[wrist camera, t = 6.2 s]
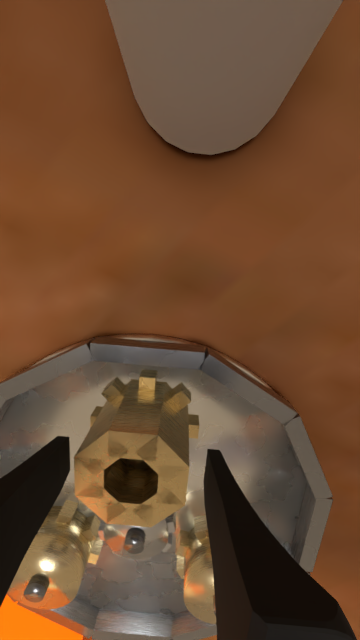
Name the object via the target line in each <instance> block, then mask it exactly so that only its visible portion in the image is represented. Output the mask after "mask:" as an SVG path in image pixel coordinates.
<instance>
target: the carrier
mask: <svg viewBox="0 0 360 640" xmlns="http://www.w3.org/2000/svg"><path fill="white" fill-rule="evenodd" d="M142 369H144V370H156V371H157V381H159V382H167V383H168V384H169V386H170V387H171V388H172V389H173V388H174V387H176V386H177V385H178V384H180V383H181V382H182V383H183V384H184V385H185V387H186V388H187V389H188V390H189V391H190V392H191V402H190V403H189V404H188V414H193V415H199V433H198V439H196V438H189V475H188V484H187V493H186V502H185V506H183V507H182V508H180V509H179V510H177V511H176V512H174V513H173V514H171V515H170V516H168V517H166V518H165V519H163V520H162V521H160V522H159V523H157V524H156V525H154V526H153V527H140V526H129V525H118V524H107V523H105V522H104V521H103V520H102V519H101V518H100V517H99V516H98V515H96V514H95V513H94V512H93V511H92V510H91V509H90V508H88V507H87V506H86V505H85V504H84V503H83V502H82V501H80V500H79V499H78V498H77V497H76V496H75V479H74V456H75V454H76V453H77V451H78V449H79V447H80V446H81V444H82V442H83V441H84V439H85V437H86V435H87V434H88V432H89V430H90V416H91V414H92V413H93V411H94V409H95V408H96V406H101V407H103V406H104V404H105V403H106V401H107V399H106V398H105V397H104V396H103V395H102V394H101V393H102V392H103V390H104V388H105V387H106V385H107V384H109V383H110V382H111V381H112V380H114V379H115V378H116V377H118V378H119V379H120V380H121V381H122V382H123V383H124V384H127V383H128V382H129V381H130V380H132V379H136V380H139V376H140V374H141V371H142ZM57 436H65V437H69V440H70V472H69V474H68V476H67V479H66V481H65V483H64V486H63V488H62V490H61V492H60V494H59V496H58V497H57V499H56V501H55V503H54V505H53V506H52V508H51V510H50V512H49V513H48V515H47V517H46V519H45V520H44V522H43V524H42V526H41V527H40V529H39V531H38V533H37V534H36V536H35V538H34V540H33V541H32V543H31V545H30V547H29V549H28V551H27V552H26V554H25V556H24V558H23V560H22V562H21V565H20V567H19V569H18V571H17V573H16V575H15V577H14V579H13V581H12V583H11V586H10V588H9V590H8V592H7V595H8V596H9V597H10V599H11V600H12V601H13V602H17V601H18V602H17V605H19V606H21V607H23V608H25V609H27V610H29V611H32V612H34V613H36V614H38V615H40V616H42V617H44V618H46V619H49V620H51V621H53V622H55V623H57V624H59V625H61V626H63V627H65V628H68V629H70V630H72V631H74V632H76V633H78V634H80V635H82V636H84V637H87V638H90V637H91V636H92V639H94V640H199V639H203V638H206V637H210V636H214V635H217V626H216V608H215V592H214V576H213V565H212V557H211V549H210V542H209V535H208V527H207V520H206V512H205V505H204V482H203V481H204V473H205V465H206V457H207V449H216V450H220V451H221V453H222V455H223V457H224V459H225V461H226V463H227V465H228V467H229V469H230V471H231V473H232V475H233V477H234V478H235V480H236V482H237V484H238V485H239V487H240V489H241V490H242V492H243V494H244V495H245V497H246V498H247V500H248V501H249V503H250V504H251V506H252V507H253V509H254V510H255V512H256V513H257V515H258V516H259V517H260V519H261V520H262V521H263V523H264V524H265V525H266V527H267V528H268V529H269V530H270V532H271V533H272V534H273V535H274V537H275V538H276V539H277V540H278V541H279V543H280V544H281V545H282V546H283V547H284V548H285V549H286V551H287V552H288V553H289V554H290V555H291V556H292V557H293V559H294V560H295V561H296V562H297V563H298V564H299V565H300V566H301V567H302V568H303V569H304V570H305V571H306V572H307V573H308V574H309V575H311V574H310V572H312V571H313V568H314V564H315V561H316V557H317V554H318V550H319V547H320V543H321V540H322V536H323V533H324V529H325V526H326V522H327V519H328V515H329V512H330V508H331V505H332V501H333V499H332V497H333V496H332V493H331V491H330V488H329V486H328V484H327V481H326V479H325V476H324V474H323V471H322V469H321V467H320V464H319V462H318V459H317V457H316V454H315V452H314V449H313V447H312V445H311V442H310V440H309V437H308V435H307V432H306V430H305V427H304V425H303V423H302V420H301V418H300V416H299V414H298V413H297V412H296V410H295V409H294V408H293V406H292V405H291V404H290V403H289V401H287V400H286V399H284V398H283V397H281V396H280V395H278V394H277V393H275V391H274V390H273V389H272V388H271V387H270V386H269V385H268V384H267V383H266V382H265V381H264V380H263V379H261V378H260V377H259V376H257V375H256V374H255V373H254V372H252V371H251V370H250V369H248V368H247V367H246V366H244V365H243V364H241V363H239V362H237V361H236V360H234V359H232V358H231V357H229V356H227V355H225V354H223V353H221V352H218V351H216V350H214V349H211V348H209V347H207V346H204V345H202V344H198V343H194V342H191V341H187V340H184V339H180V338H175V337H168V336H162V335H155V334H120V335H111V336H103V337H99V336H98V337H97V338H95V337H93V338H91V339H89V340H86V341H82V342H78V343H76V344H73V345H71V346H68V347H66V348H63V349H60V350H58V351H56V352H54V353H53V354H51V355H49V356H47V357H45V358H44V359H42V360H40V361H38V362H37V363H35V364H34V365H32V366H31V367H29V368H27V369H25V370H23V371H21V372H19V373H17V374H15V375H12V376H10V377H8V378H7V379H5V380H3V381H2V382H0V478H2V477H3V476H5V475H6V474H7V473H9V472H10V471H12V470H13V469H15V468H16V467H17V466H19V465H20V464H21V463H23V462H24V461H25V460H27V459H28V458H29V457H31V456H32V455H33V454H35V453H36V452H37V451H39V450H40V449H41V448H43V447H44V446H45V445H46V444H48V443H49V442H50V441H52V440H53V439H54V438H56V437H57ZM125 461H126V464H127V465H128V466H129V467H130V468H133V469H142V468H144V467H146V466H147V463H146V462H145V461H144V460H137V459H126V458H125Z"/></svg>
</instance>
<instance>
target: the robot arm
mask: <svg viewBox="0 0 360 640" xmlns="http://www.w3.org/2000/svg"><path fill="white" fill-rule="evenodd" d="M69 472H70V440H69V437H65V436H57V437H56V438H54V439H53V440H52V441H50V442H49V443H48V444H46V445H45V446H44V447H43V448H41V449H40V450H39V451H37V452H36V453H35V454H33V455H32V456H31V457H29V458H28V459H27V460H25V461H24V462H23V463H21V464H20V465H19V466H17V467H16V468H15V469H13V470H12V471H10V472H9V473H7V474H6V475H5V476H3V477H2V478H0V607H1V605H2V603H3V601H4V599H5V596H6V594H7V592H8V590H9V588H10V586H11V583H12V581H13V579H14V577H15V575H16V573H17V571H18V569H19V567H20V565H21V562H22V560H23V558H24V556H25V554H26V552H27V551H28V549H29V547H30V545H31V543H32V541H33V540H34V538H35V536H36V534H37V533H38V531H39V529H40V527H41V526H42V524H43V522H44V520H45V519H46V517H47V515H48V513H49V512H50V510H51V508H52V506H53V505H54V503H55V501H56V499H57V497H58V496H59V494H60V492H61V490H62V488H63V486H64V483H65V481H66V479H67V476H68V474H69ZM203 482H204V505H205V512H206V520H207V527H208V535H209V542H210V549H211V557H212V565H213V576H214V592H215V608H216V626H217V640H357V639H356V637H355V635H354V632H353V630H352V628H351V626H350V624H349V622H348V620H347V618H346V617H345V615H344V613H343V611H342V609H341V608H340V606H339V604H338V602H337V601H336V600H335V599H334V598H333V597H332V596H331V595H330V594H329V593H328V592H327V591H326V590H325V589H324V588H323V587H321V586H320V585H319V584H318V583H317V582H316V581H315V580H314V579H313V578H312V577H311V576H310V575H309V574H308V573H307V572H306V571H305V570H304V569H303V568H302V567H301V566H300V565H299V564H298V563H297V562H296V561H295V560H294V559H293V557H292V556H291V555H290V554H289V553H288V552H287V551H286V549H285V548H284V547H283V546H282V545H281V544H280V543H279V541H278V540H277V539H276V538H275V537H274V535H273V534H272V533H271V532H270V530H269V529H268V528H267V527H266V525H265V524H264V523H263V521H262V520H261V519H260V517H259V516H258V515H257V513H256V512H255V510H254V509H253V507H252V506H251V504H250V503H249V501H248V500H247V498H246V497H245V495H244V494H243V492H242V490H241V489H240V487H239V485H238V484H237V482H236V480H235V478H234V477H233V475H232V473H231V471H230V469H229V467H228V465H227V463H226V461H225V459H224V457H223V455H222V453H221V451H220V450H216V449H207V457H206V465H205V473H204V481H203Z"/></svg>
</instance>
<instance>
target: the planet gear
mask: <svg viewBox="0 0 360 640" xmlns="http://www.w3.org/2000/svg"><path fill="white" fill-rule="evenodd" d="M101 394H102V395H103V396H104V397H105V398H106V399H107V401H106V403H105V404H104V406H103V407H101V406H96V408H95V409H94V411H93V413H92V414H91V416H90V430H89V432H88V434H87V435H86V437H85V439H84V441H83V442H82V444H81V446H80V447H79V449H78V451H77V453H76V454H75V456H74V479H75V496H76V497H77V498H78V499H79V500H80V501H82V502H83V503H84V504H85V505H86V506H87V507H88V508H90V509H91V510H92V511H93V512H94V513H95V514H96V515H98V516H99V517H100V518H101V519H102V520H103V521H104V522H105V523H107V524H118V525H129V526H140V527H153V526H154V525H156V524H157V523H159V522H160V521H162V520H163V519H165V518H166V517H168V516H170V515H171V514H173V513H174V512H176V511H177V510H179V509H180V508H182V507H183V506H185V502H186V493H187V484H188V475H189V438H196V439H198V433H199V415H193V414H188V404H189V403H190V402H191V392H190V391H189V390H188V389H187V388H186V387H185V385H184V384H183V383H182V382H181V383H180V384H178V385H177V386H176V387H174V388H173V389H172V388H171V387H170V386H169V384H168V383H167V382H159V381H157V371H156V370H144V369H142V371H141V374H140V376H139V380H136V379H132V380H130V381H129V382H128V383H127V384H124V383H123V382H122V381H121V380H120V379H119V378H118V377H116V378H115V379H114V380H112V381H111V382H110V383H109V384H107V385H106V387H105V388H104V390H103V392H102V393H101ZM125 458H126V459H137V460H144V461H145V462H146V463H147V466H146V467H144V468H142V469H133V468H130V467H129V466H128V465H127V464H126V461H125Z"/></svg>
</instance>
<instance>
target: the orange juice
mask: <svg viewBox="0 0 360 640" xmlns="http://www.w3.org/2000/svg"><path fill="white" fill-rule="evenodd" d="M17 602H18V601H17ZM17 602H13V601H12V600H11V599H10V597H9V596H8V595H7V594H6V596H5V599H4V601H3V603H2V605H1V607H0V640H82V639H83V636H82V635H80V634H78V633H76V632H74V631H72V630H70V629H68V628H65V627H63V626H61V625H59V624H57V623H55V622H53V621H51V620H49V619H46V618H44V617H42V616H40V615H38V614H36V613H34V612H32V611H29V610H27V609H25V608H23V607H21V606H19V605H17Z"/></svg>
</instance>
